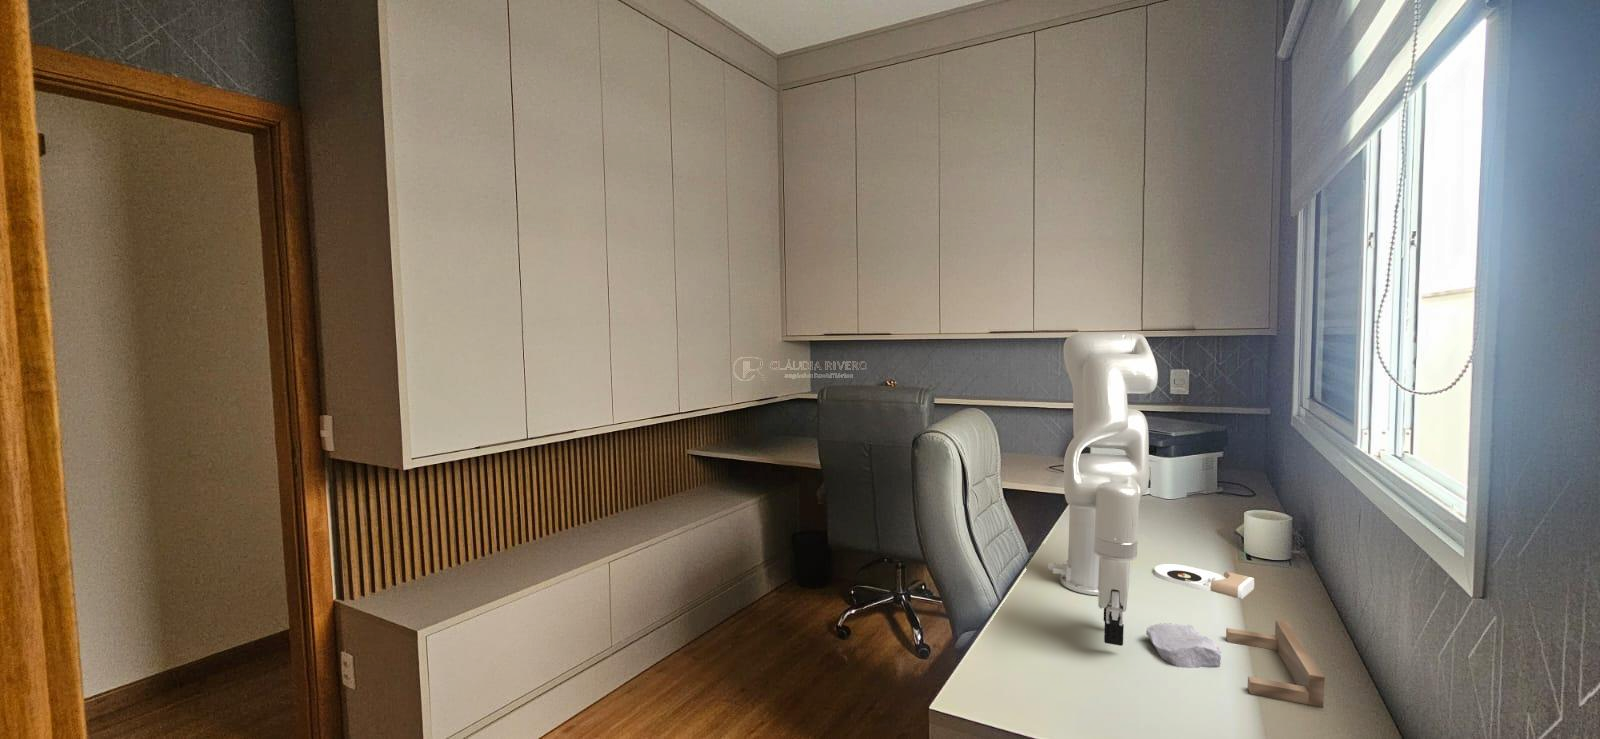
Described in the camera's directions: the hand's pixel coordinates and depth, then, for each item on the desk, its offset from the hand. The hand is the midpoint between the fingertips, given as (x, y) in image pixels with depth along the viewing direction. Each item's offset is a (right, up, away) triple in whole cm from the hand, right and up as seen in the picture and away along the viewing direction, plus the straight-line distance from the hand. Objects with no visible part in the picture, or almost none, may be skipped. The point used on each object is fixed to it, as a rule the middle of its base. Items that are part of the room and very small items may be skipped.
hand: (1112, 632), depth 130 cm
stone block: (+11, -3, -4) cm, 12 cm away
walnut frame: (+24, -2, -10) cm, 26 cm away
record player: (+36, -1, +31) cm, 47 cm away
